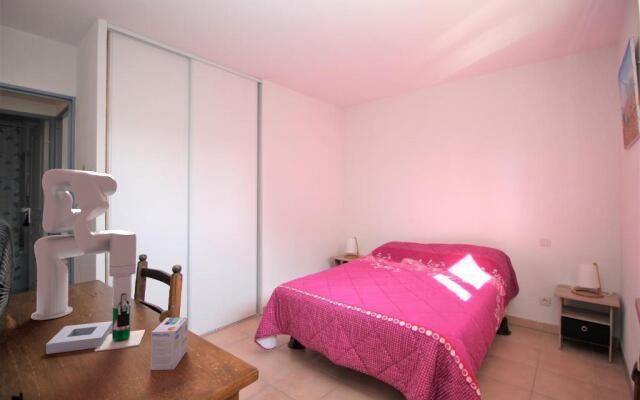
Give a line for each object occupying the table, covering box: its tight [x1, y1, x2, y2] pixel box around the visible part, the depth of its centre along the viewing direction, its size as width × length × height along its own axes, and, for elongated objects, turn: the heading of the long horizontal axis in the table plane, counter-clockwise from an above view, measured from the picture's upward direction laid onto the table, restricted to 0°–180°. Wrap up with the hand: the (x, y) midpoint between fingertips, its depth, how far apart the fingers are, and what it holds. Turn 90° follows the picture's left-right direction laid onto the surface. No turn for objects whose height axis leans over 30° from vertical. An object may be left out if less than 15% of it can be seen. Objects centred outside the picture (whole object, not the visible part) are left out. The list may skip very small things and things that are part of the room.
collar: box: [45, 320, 112, 355], centre depth 103 cm, size 14×14×3 cm
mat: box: [93, 329, 146, 353], centre depth 103 cm, size 12×12×1 cm
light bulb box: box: [150, 316, 189, 371], centre depth 91 cm, size 11×7×11 cm, turn 5°
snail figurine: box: [158, 301, 177, 324], centre depth 104 cm, size 5×6×12 cm
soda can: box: [111, 304, 132, 342], centre depth 103 cm, size 5×5×12 cm
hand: (122, 321), depth 103 cm, fingers open, 9 cm apart
